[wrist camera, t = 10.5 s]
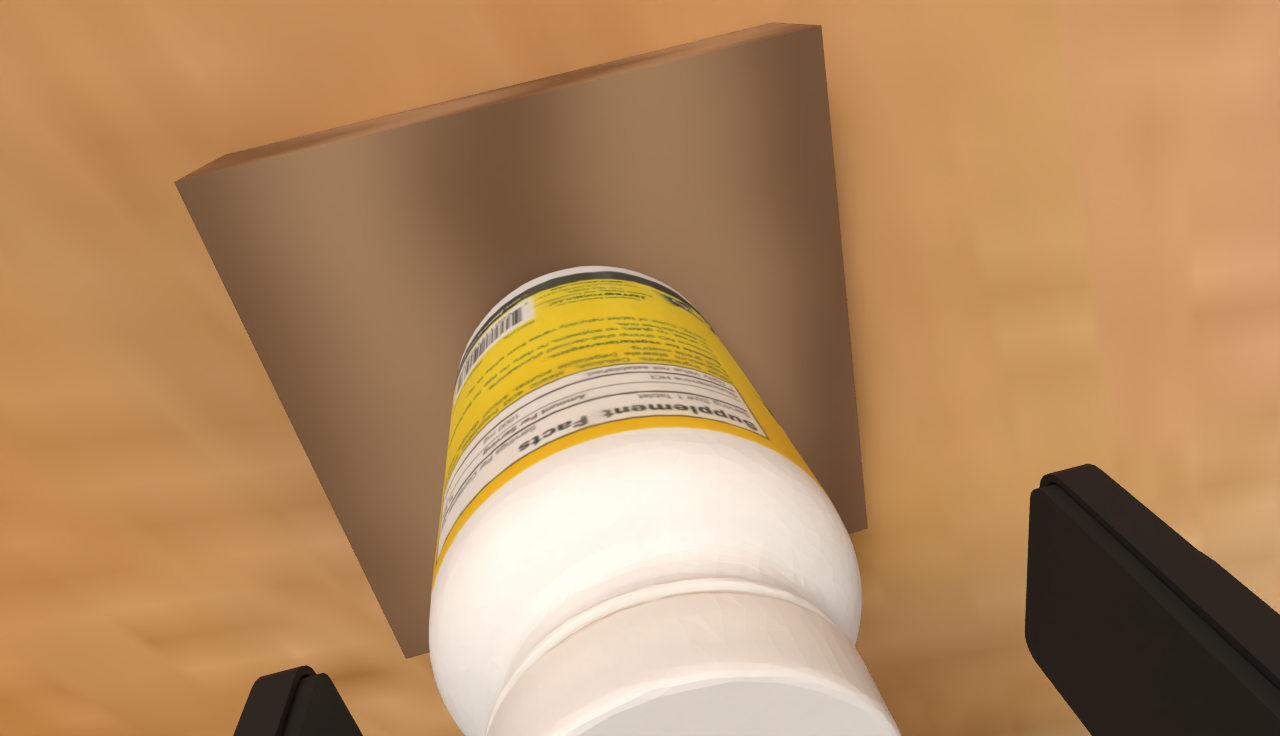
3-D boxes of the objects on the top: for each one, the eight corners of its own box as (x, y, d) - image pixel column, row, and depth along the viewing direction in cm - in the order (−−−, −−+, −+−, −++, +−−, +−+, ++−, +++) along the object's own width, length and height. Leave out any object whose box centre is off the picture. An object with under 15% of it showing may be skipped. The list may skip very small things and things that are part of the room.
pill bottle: (696, 498, 20) (892, 984, 10) (450, 492, 19) (396, 1043, 9) (743, 268, 17) (1066, 612, 7) (462, 243, 16) (405, 618, 6)
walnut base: (773, 22, 18) (821, 25, 15) (826, 470, 24) (867, 528, 21) (224, 155, 17) (174, 182, 15) (416, 583, 23) (406, 658, 20)
